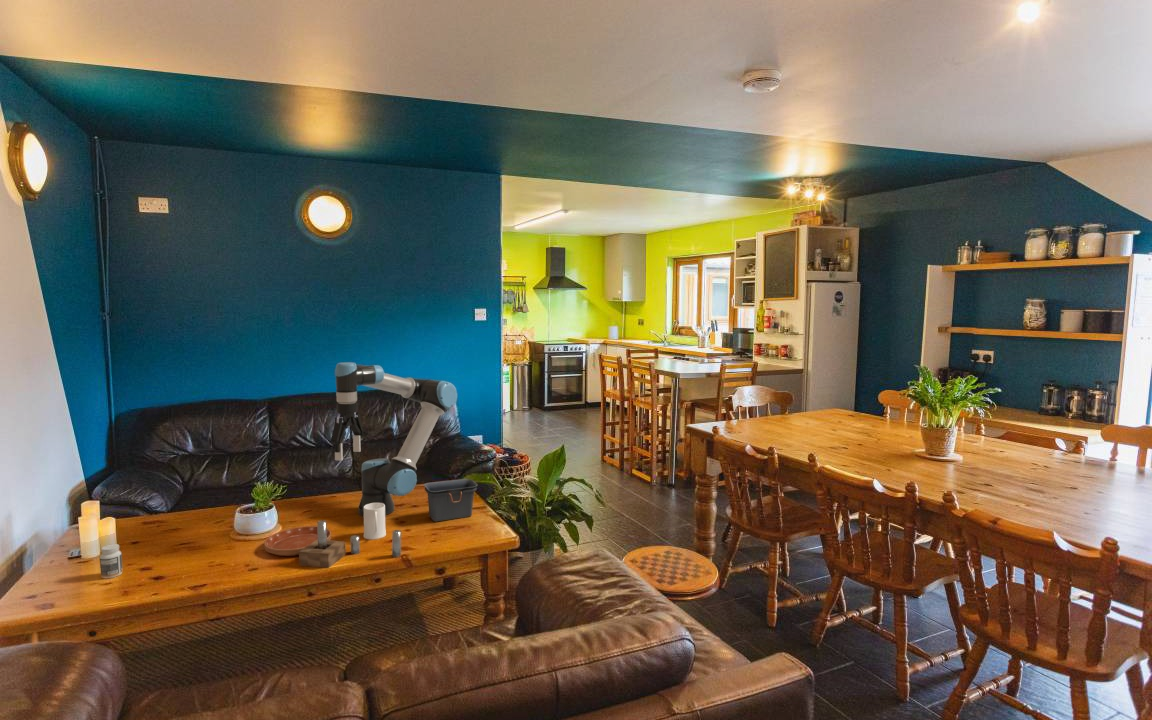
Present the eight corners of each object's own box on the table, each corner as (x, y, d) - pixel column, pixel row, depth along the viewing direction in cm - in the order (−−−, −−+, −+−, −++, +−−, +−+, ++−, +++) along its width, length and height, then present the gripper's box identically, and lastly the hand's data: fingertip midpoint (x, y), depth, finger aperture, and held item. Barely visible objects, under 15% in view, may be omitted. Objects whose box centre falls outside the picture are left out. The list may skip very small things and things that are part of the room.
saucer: (254, 561, 212) (254, 551, 211) (276, 536, 234) (276, 527, 234) (322, 557, 215) (322, 547, 215) (337, 533, 238) (337, 524, 238)
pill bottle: (108, 571, 201) (107, 543, 201) (126, 571, 202) (125, 543, 201) (96, 579, 196) (94, 550, 195) (115, 579, 196) (113, 549, 195)
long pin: (321, 558, 214) (320, 520, 213) (329, 558, 214) (328, 520, 213) (316, 561, 211) (315, 523, 210) (324, 562, 211) (323, 523, 210)
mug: (386, 541, 230) (385, 511, 229) (362, 543, 227) (362, 513, 226) (386, 530, 241) (385, 501, 240) (363, 532, 238) (363, 503, 237)
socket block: (317, 552, 219) (317, 539, 218) (345, 554, 217) (345, 541, 217) (299, 565, 208) (299, 551, 208) (328, 567, 206) (328, 554, 206)
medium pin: (395, 553, 219) (395, 529, 218) (402, 554, 218) (402, 530, 217) (390, 556, 216) (390, 532, 215) (397, 557, 215) (398, 533, 214)
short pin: (353, 550, 221) (352, 535, 220) (361, 550, 221) (360, 535, 220) (349, 554, 218) (348, 538, 217) (357, 554, 218) (356, 538, 217)
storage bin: (470, 508, 268) (469, 477, 267) (481, 519, 255) (481, 486, 253) (422, 515, 258) (422, 483, 257) (431, 527, 245) (431, 493, 243)
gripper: (354, 397, 244) (355, 447, 246) (319, 407, 220) (321, 463, 222) (371, 397, 243) (372, 448, 245) (338, 408, 219) (340, 464, 221)
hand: (348, 455), depth 234 cm, fingers open, 13 cm apart
